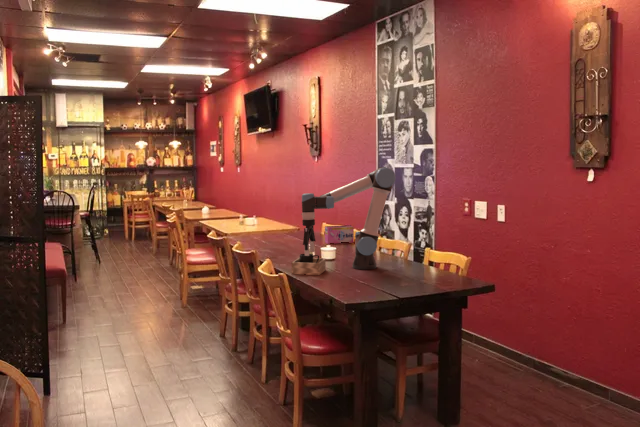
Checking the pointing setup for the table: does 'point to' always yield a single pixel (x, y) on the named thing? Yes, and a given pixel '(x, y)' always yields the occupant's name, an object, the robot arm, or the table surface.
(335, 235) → the gum box
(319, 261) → the open wooden box
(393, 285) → the table surface
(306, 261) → the mug
